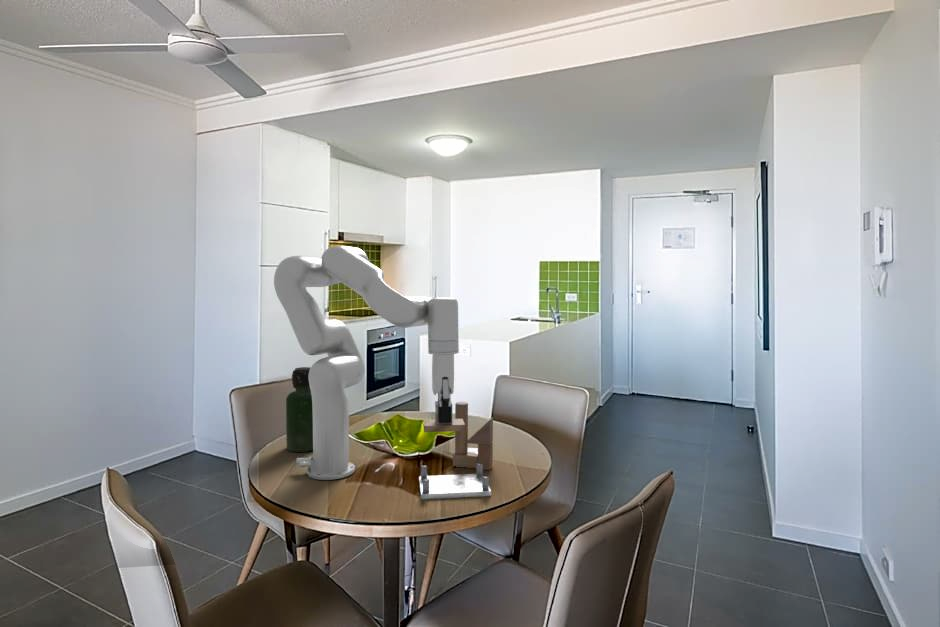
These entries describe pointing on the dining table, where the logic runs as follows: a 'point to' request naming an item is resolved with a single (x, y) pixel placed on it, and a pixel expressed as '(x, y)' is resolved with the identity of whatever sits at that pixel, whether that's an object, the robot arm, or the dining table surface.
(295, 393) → the green bottle
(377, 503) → the dining table surface
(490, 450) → the wooden block
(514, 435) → the dining table surface
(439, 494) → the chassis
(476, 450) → the butcher knife
